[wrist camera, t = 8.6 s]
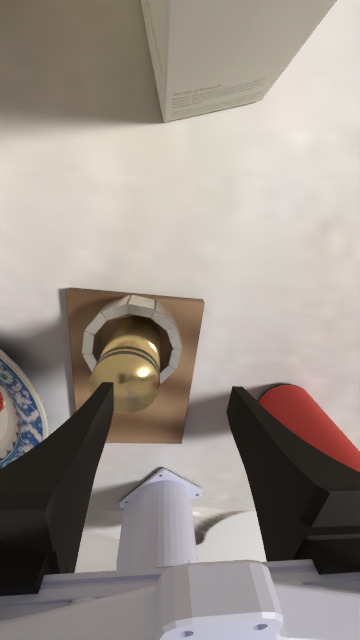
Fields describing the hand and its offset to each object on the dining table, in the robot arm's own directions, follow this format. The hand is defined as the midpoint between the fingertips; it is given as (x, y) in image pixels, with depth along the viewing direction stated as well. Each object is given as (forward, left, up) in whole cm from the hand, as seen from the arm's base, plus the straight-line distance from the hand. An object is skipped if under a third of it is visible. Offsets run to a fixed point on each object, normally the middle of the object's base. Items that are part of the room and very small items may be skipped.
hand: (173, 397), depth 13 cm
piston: (-2, +2, -8) cm, 9 cm away
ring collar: (-2, +2, -9) cm, 10 cm away
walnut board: (-6, -1, -9) cm, 11 cm away
